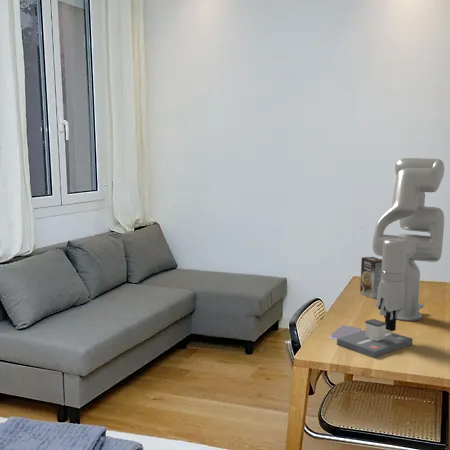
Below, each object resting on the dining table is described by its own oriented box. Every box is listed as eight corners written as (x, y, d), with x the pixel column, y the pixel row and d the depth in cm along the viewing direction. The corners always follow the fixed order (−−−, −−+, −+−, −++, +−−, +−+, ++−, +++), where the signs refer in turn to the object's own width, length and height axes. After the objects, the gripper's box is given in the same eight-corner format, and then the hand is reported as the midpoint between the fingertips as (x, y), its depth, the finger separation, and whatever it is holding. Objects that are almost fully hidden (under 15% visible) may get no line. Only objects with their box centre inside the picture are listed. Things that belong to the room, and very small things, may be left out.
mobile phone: (362, 327, 210) (349, 340, 197) (361, 330, 210) (349, 342, 197) (341, 324, 214) (327, 336, 201) (341, 326, 214) (327, 339, 201)
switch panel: (375, 332, 207) (375, 326, 207) (412, 344, 195) (412, 338, 195) (336, 344, 195) (337, 338, 194) (374, 357, 183) (374, 351, 183)
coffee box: (359, 293, 259) (360, 257, 257) (371, 292, 262) (372, 256, 260) (372, 298, 251) (374, 261, 249) (384, 297, 254) (386, 260, 252)
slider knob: (372, 334, 198) (373, 318, 197) (385, 338, 194) (386, 322, 193) (364, 337, 195) (365, 321, 195) (377, 341, 191) (378, 325, 191)
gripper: (397, 271, 204) (394, 323, 207) (369, 277, 195) (366, 331, 198) (415, 275, 198) (412, 328, 201) (388, 281, 189) (385, 337, 192)
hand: (390, 329), depth 199 cm, fingers closed
